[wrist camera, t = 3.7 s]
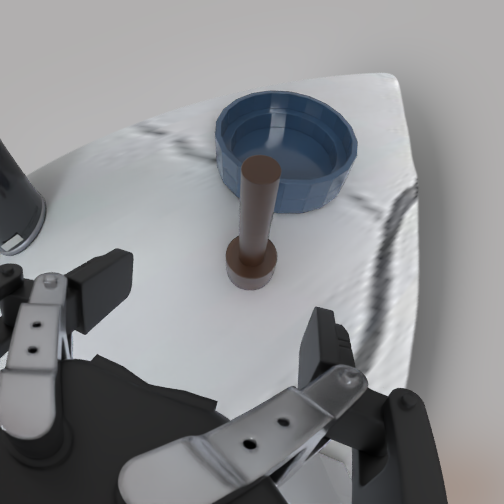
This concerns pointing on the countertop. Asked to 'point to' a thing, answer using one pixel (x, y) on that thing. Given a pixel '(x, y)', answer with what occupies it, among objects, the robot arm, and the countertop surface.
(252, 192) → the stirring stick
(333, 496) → the flask
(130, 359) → the countertop surface
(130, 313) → the countertop surface
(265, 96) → the mixing bowl
